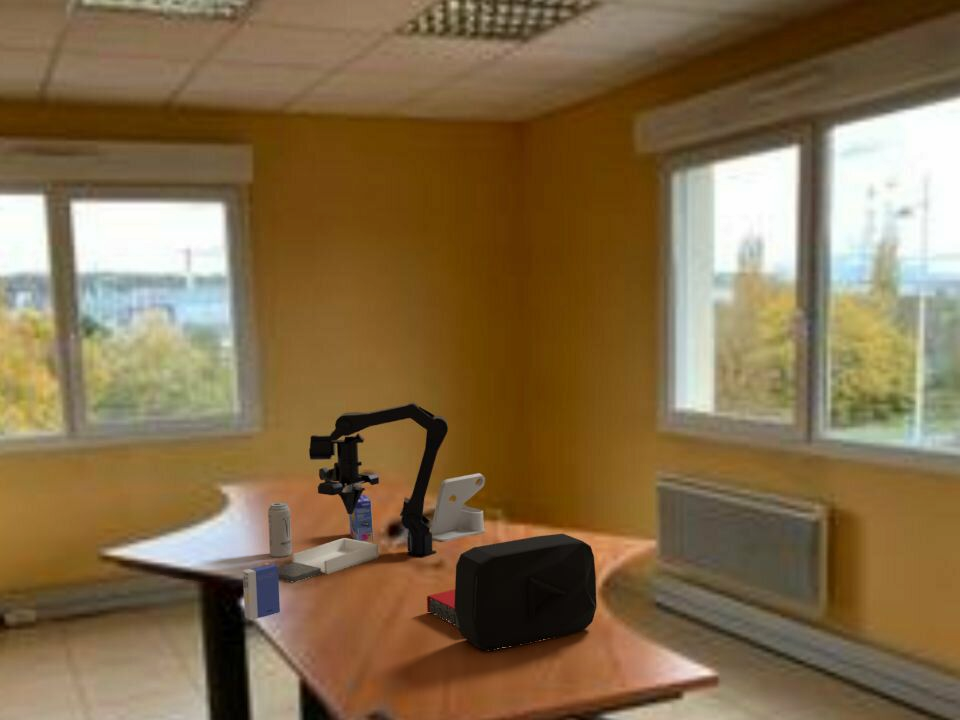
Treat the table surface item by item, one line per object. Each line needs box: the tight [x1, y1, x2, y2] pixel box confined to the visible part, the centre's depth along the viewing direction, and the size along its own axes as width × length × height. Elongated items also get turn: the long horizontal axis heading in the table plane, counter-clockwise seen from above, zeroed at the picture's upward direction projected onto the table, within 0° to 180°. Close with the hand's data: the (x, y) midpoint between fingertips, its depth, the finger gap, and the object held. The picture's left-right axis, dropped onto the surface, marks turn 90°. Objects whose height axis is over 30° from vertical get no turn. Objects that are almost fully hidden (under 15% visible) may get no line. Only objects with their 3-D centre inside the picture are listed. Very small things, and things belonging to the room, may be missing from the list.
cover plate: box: [278, 562, 321, 583], centre depth 257 cm, size 10×9×2 cm
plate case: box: [291, 537, 379, 575], centre depth 269 cm, size 13×20×4 cm
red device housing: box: [426, 588, 459, 629], centre depth 222 cm, size 18×14×5 cm
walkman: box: [242, 562, 281, 621], centre depth 226 cm, size 8×3×12 cm, turn 133°
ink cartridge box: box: [348, 493, 374, 542], centre depth 295 cm, size 10×6×14 cm, turn 19°
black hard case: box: [454, 533, 598, 651], centre depth 208 cm, size 30×12×20 cm, turn 118°
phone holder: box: [430, 472, 486, 543], centre depth 296 cm, size 17×10×18 cm, turn 131°
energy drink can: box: [267, 501, 293, 558], centre depth 277 cm, size 6×6×15 cm
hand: (350, 514), depth 275 cm, fingers closed
